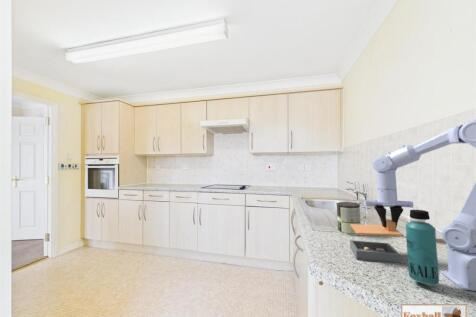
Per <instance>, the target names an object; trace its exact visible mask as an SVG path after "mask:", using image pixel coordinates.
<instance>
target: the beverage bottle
mask: <svg viewBox="0 0 476 317" xmlns="http://www.w3.org/2000/svg"><path fill="white" fill-rule="evenodd" d="M429 213H430V212H429V211H427V210H423V209H418V210H416V209H410V210H409V216H410V218H414V219H421V220H426V221H428V220H430V214H429ZM426 221H425V222H421V221H410V222H407V223H406V224H405V237H406V238H405V239H406V240H405V243H406V251H407V253H406V257H407V272H408V276H409V278H411V279H412V280H414V281H415V282H418V283H421V284H424V285H429V286H435V285H438V284H439V283H440V280H441V278H440V277H441V275H440V272H439V267H440V265H439V257H438V250H437V237H436V235H437V234H436V231H437V230H436V227H435V226H433V225H432V224H431V223H429V222H426Z"/></svg>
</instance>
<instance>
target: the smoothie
mask: <svg viewBox="0 0 476 317" xmlns="http://www.w3.org/2000/svg"><path fill="white" fill-rule="evenodd" d="M415 208H416V209H415V210H419V208H418V206H416V207H415ZM406 219H407V221H408V222H407V223H409V222H410V221H421V222H426V221H427V220H421V219H414V218H410V215H407V216H406Z"/></svg>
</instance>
